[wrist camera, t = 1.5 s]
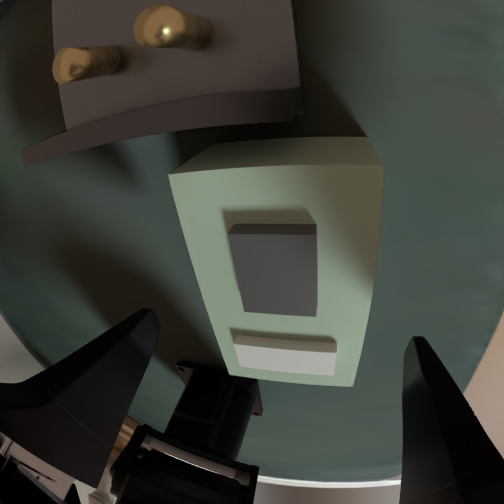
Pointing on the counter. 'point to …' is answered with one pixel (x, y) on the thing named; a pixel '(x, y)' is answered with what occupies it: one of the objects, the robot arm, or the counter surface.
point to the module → (285, 251)
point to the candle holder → (101, 497)
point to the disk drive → (5, 6)
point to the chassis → (169, 68)
